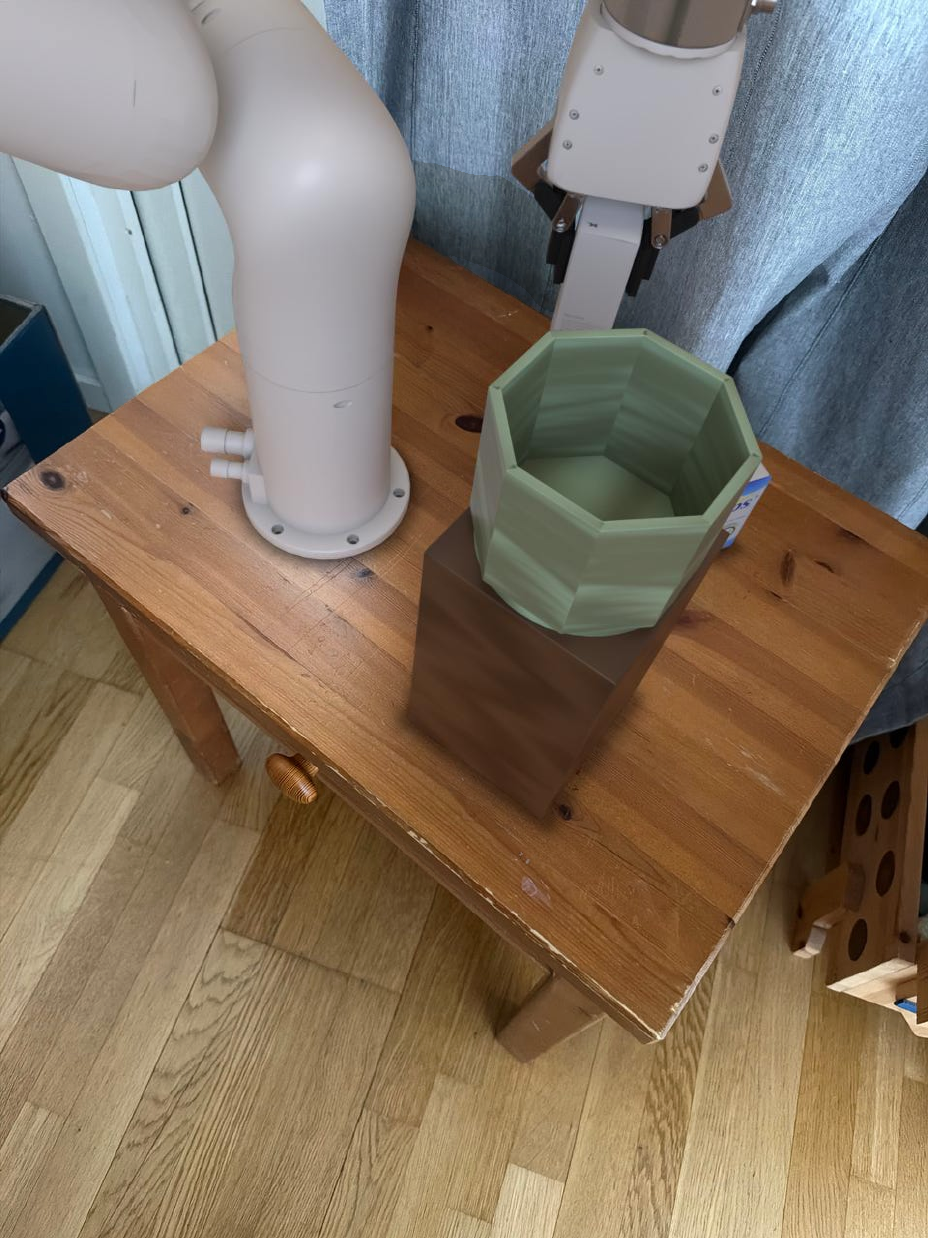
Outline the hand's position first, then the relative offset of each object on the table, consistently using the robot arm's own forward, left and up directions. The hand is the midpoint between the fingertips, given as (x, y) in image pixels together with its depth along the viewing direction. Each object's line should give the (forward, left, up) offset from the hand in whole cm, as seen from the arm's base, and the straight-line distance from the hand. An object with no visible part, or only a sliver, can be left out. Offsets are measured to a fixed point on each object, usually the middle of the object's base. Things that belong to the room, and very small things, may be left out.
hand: (594, 275), depth 63 cm
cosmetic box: (0, 0, -7) cm, 7 cm away
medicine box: (+10, -12, -14) cm, 20 cm away
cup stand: (-1, -28, -14) cm, 31 cm away
